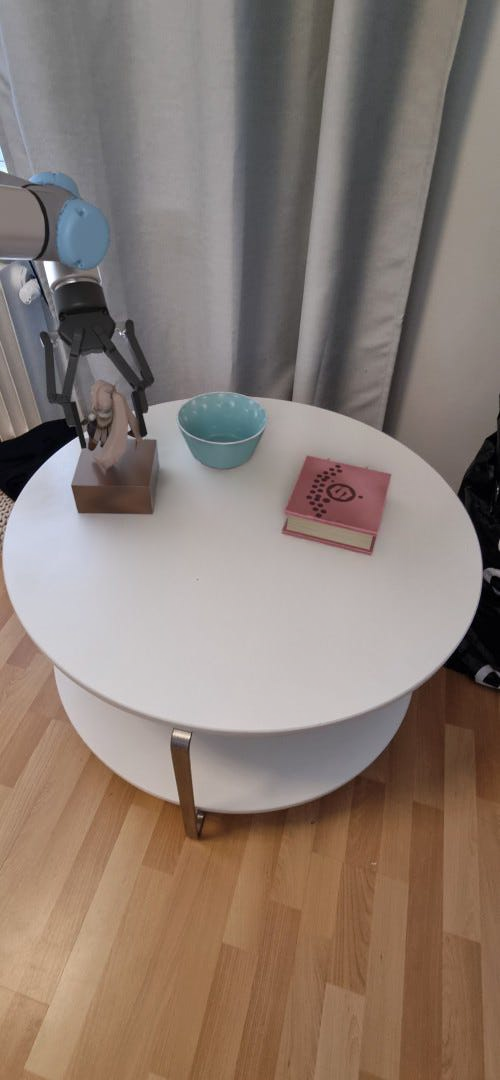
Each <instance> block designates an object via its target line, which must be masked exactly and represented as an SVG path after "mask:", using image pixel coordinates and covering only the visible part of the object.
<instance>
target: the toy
mask: <svg viewBox="0 0 500 1080" xmlns="http://www.w3.org/2000/svg"><path fill="white" fill-rule="evenodd" d="M118 384H119V381H116V382H115V383H114V384H112V383H111V382H108V381H106V380H104V379H99V380H95V381H94V383H93V384H92V385H91V386H90V389H89V392H90V398H91V402H90V406H91V413H89V414H88V416H86V418H83V419H82V420H81V425H82V427H86V432H87V435H88V438H89V443H88V449H89V450H90V451H94V449H95V448H96V446H97V445H98V442H99V440H100V441H101V444H100V447H101V448H102V449H101V450H100V451H99V452H97V453H96V454H94V455H93V456H92V457H93V458H94V459H95V460H96V461H97V462H98V463H99V464H100V465H101V466H102V467H103V468H104V469H105V470H106V469H108V468H109V467H111V466H112V465H114V464H116V463H120V462H121V460H122V458H123V455H124V453H125V450H126V442H127V439H128V436H129V437H132V438H133V439H136V449H135V452H136V450H137V448H138V446H139V444H140V442H141V440H142V439H144V437H141V436H140V430H139V422H138V420H137V418H136V415H135V413H134V412H133V410H132V409H131V408H130V407H129V404H128V401H127V399H126V396H124V394H123V393H121V392H119V391H118V390H117V389H116V388H117V386H118ZM129 428H130V430H129Z"/></svg>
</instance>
